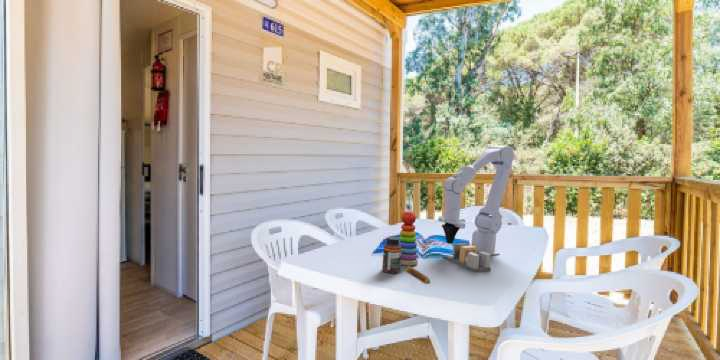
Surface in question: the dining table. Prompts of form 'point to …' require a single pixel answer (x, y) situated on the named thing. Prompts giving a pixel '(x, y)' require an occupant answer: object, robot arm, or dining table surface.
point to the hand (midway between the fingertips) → (449, 243)
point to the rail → (456, 260)
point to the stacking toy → (408, 240)
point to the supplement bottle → (392, 255)
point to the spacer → (463, 252)
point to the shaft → (457, 251)
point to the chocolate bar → (418, 275)
